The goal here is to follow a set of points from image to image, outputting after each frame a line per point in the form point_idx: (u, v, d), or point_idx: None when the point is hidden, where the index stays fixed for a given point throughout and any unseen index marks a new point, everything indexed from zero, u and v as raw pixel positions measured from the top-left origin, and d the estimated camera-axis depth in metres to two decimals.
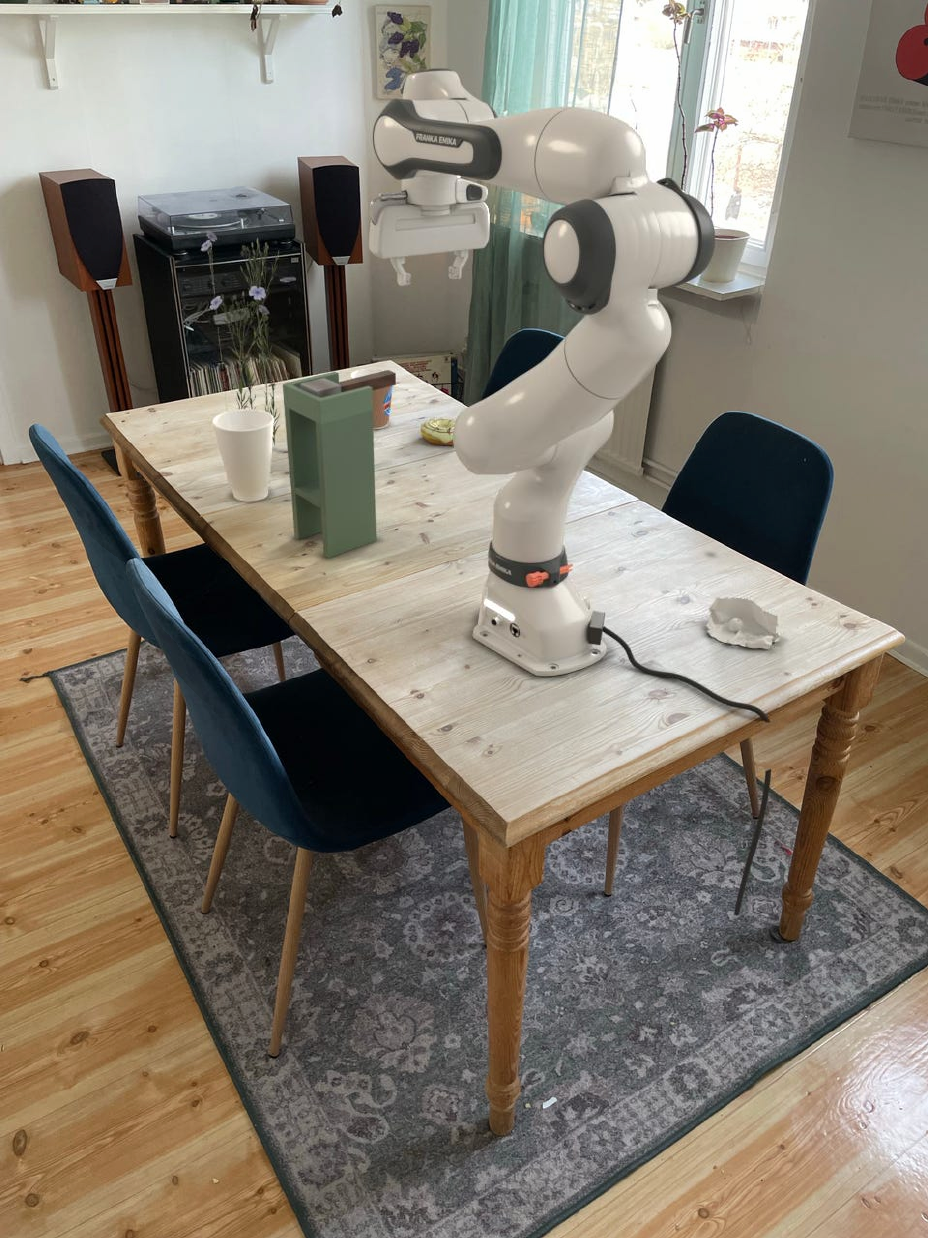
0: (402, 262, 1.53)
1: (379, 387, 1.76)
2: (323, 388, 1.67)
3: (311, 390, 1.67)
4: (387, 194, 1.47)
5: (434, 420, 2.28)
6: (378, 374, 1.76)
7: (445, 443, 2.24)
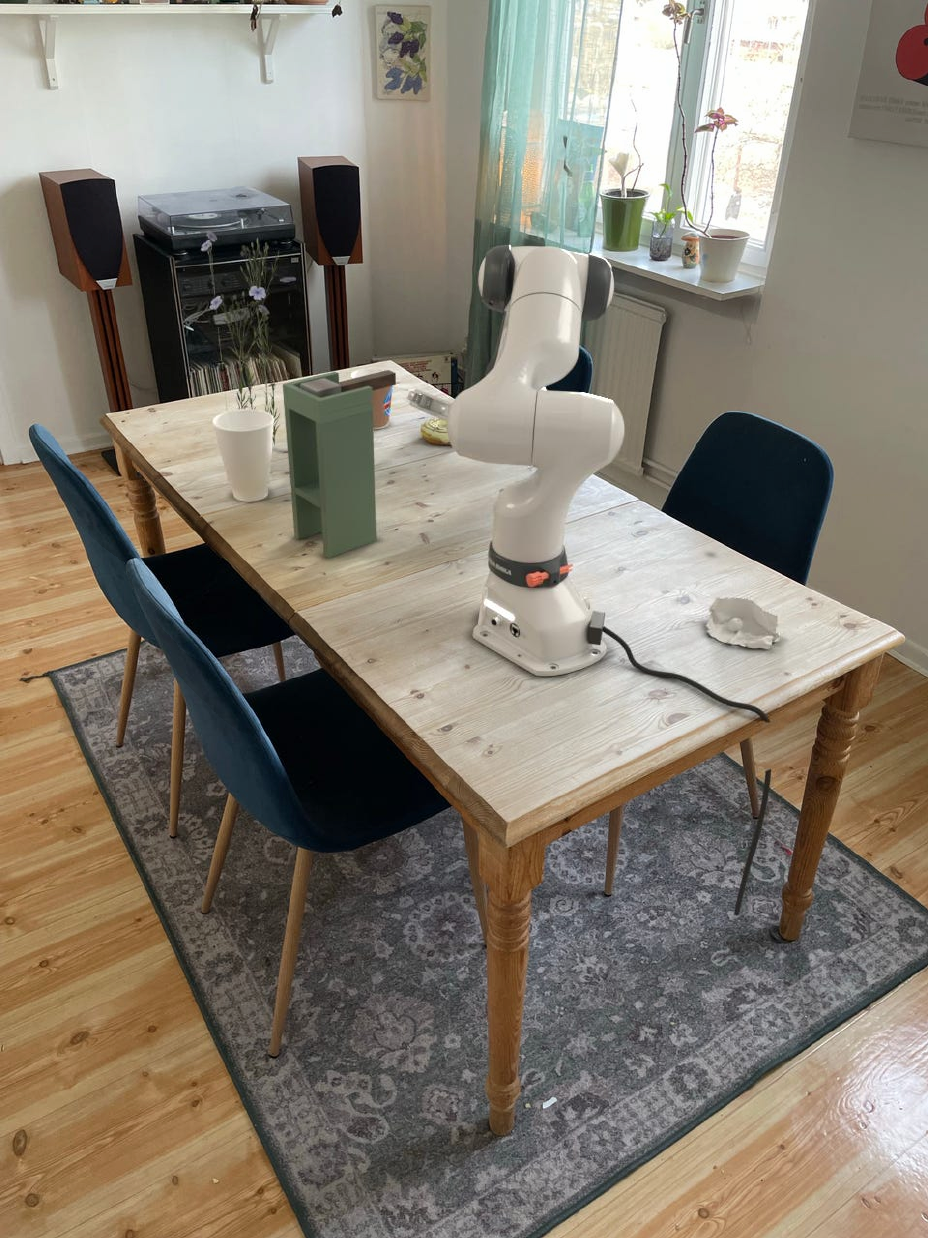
0: (422, 394, 1.93)
1: (379, 387, 1.76)
2: (323, 388, 1.67)
3: (311, 390, 1.67)
4: None
5: (434, 420, 2.28)
6: (378, 374, 1.76)
7: (445, 443, 2.24)
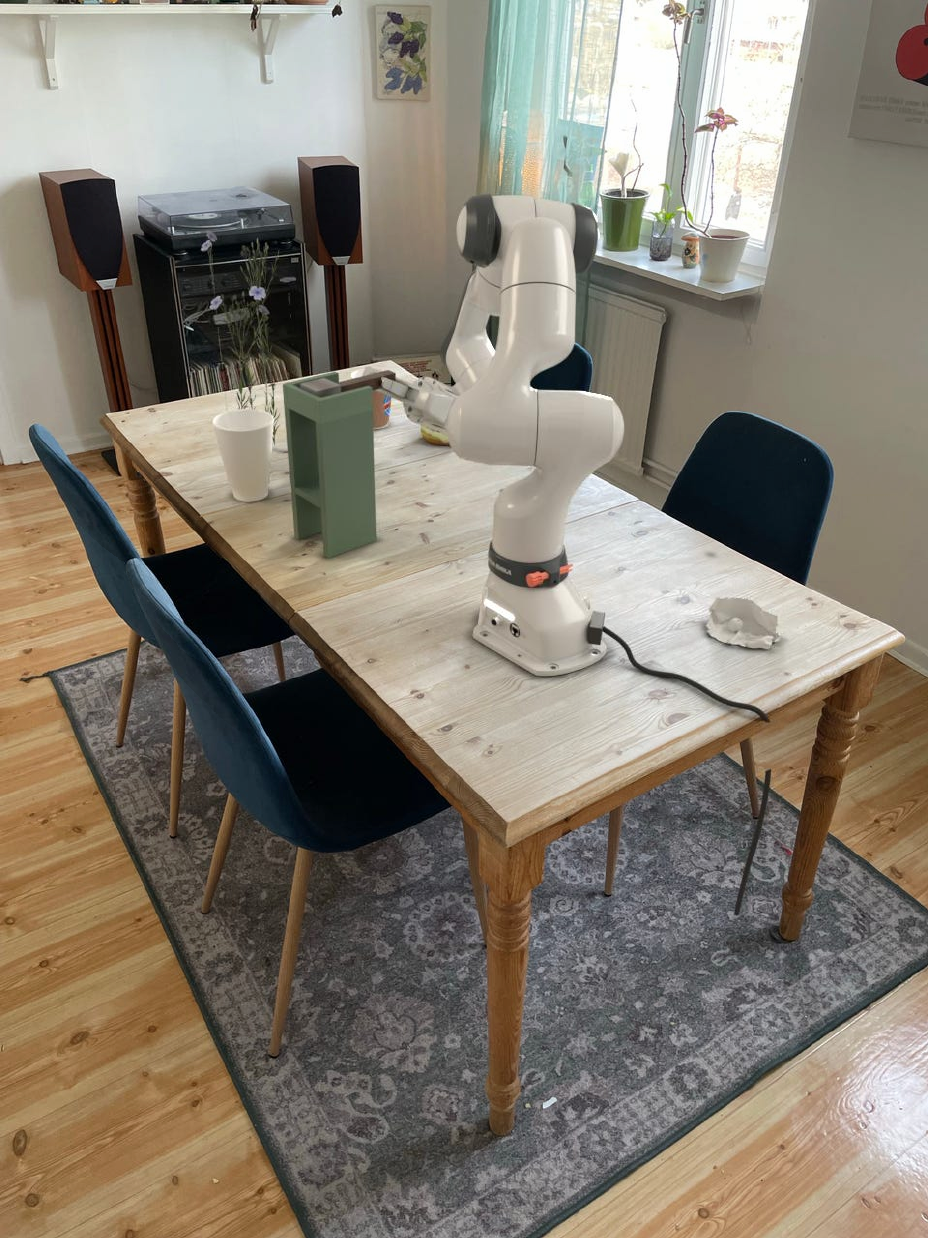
0: None
1: (379, 387, 1.76)
2: (323, 388, 1.67)
3: (311, 390, 1.67)
4: None
5: None
6: (378, 374, 1.76)
7: (445, 443, 2.24)
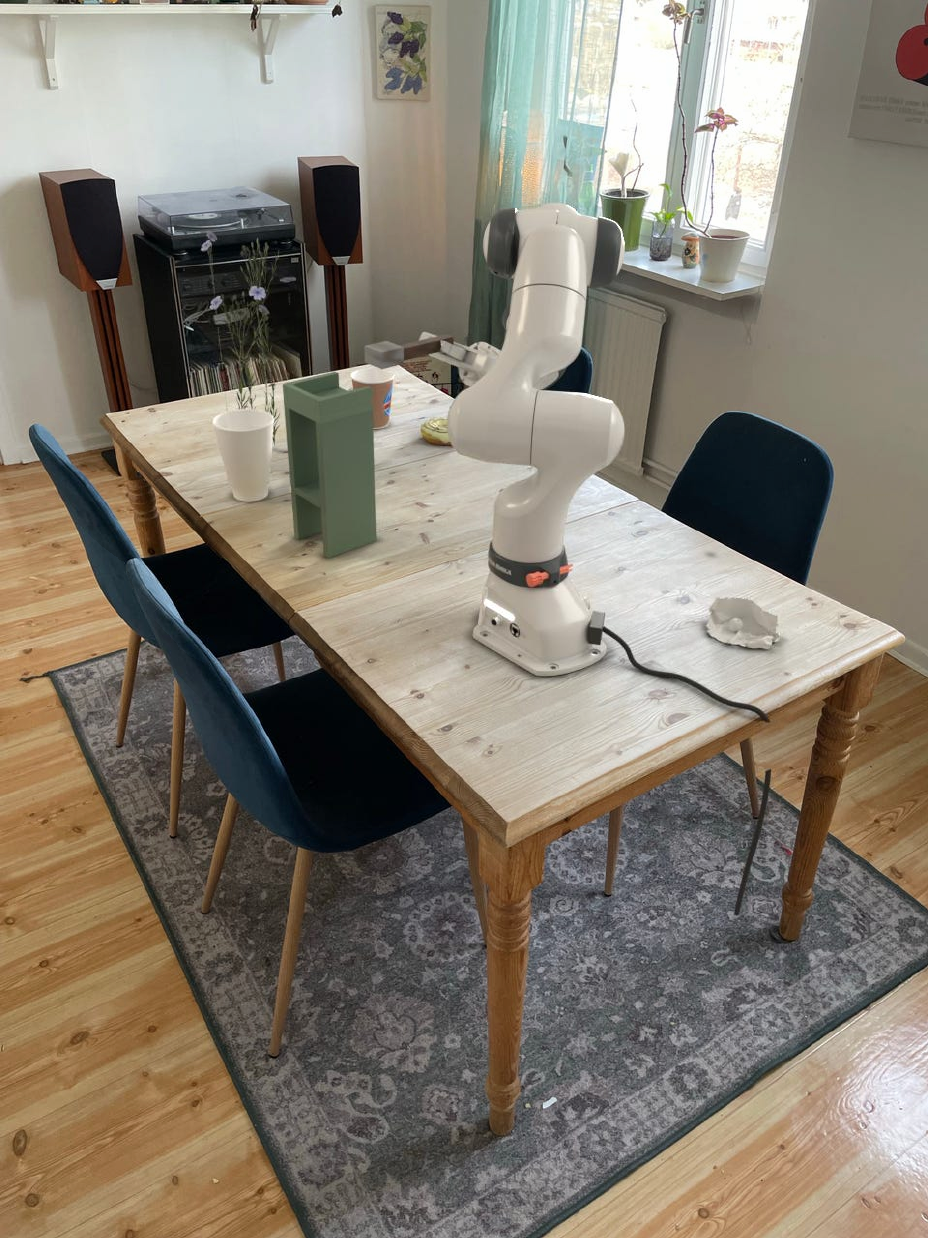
0: None
1: (438, 350, 1.82)
2: (387, 349, 1.73)
3: (375, 351, 1.73)
4: None
5: (434, 420, 2.28)
6: (437, 338, 1.82)
7: (445, 443, 2.24)
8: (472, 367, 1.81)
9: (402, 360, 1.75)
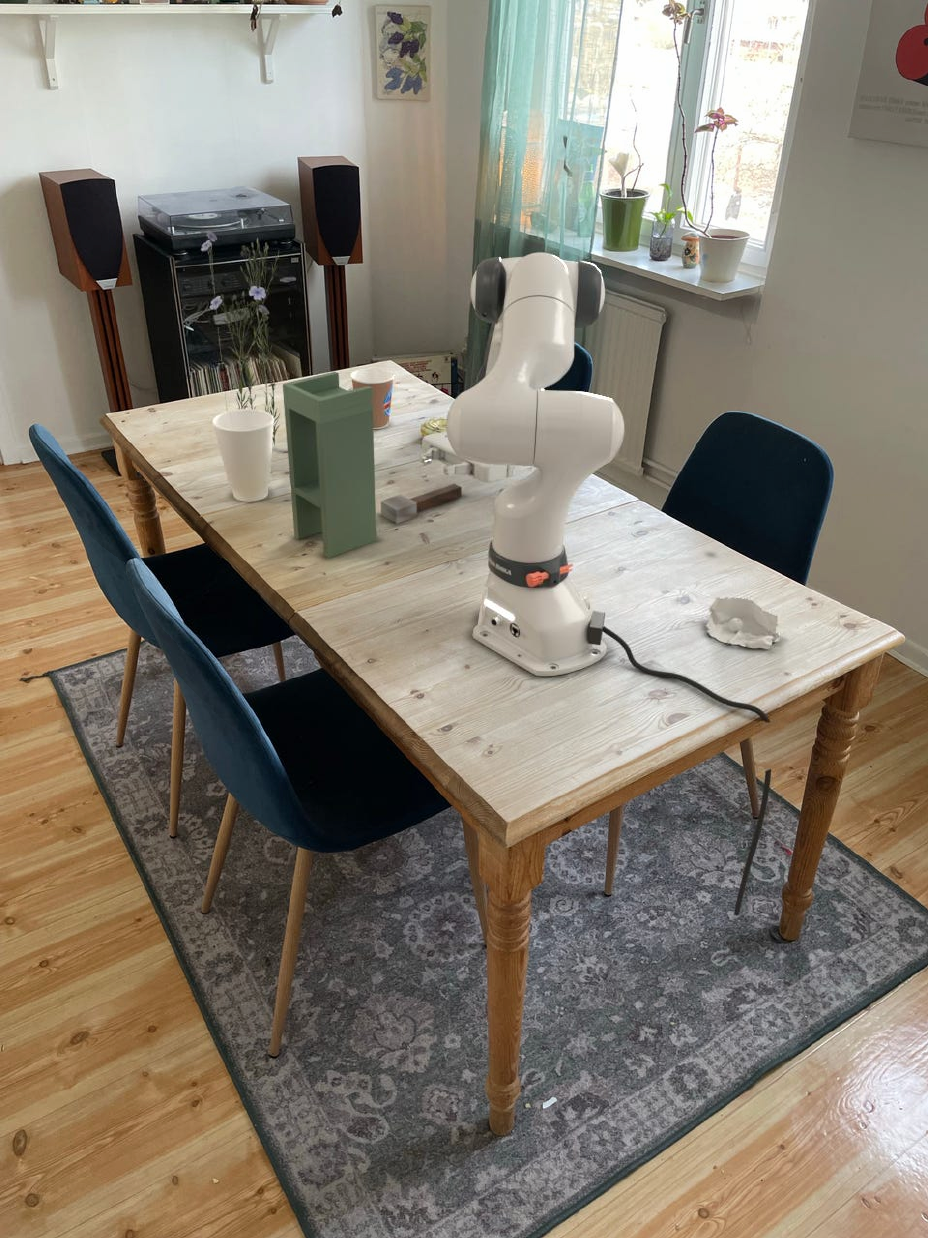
0: (433, 449, 1.99)
1: (447, 500, 2.00)
2: (402, 506, 1.91)
3: (391, 508, 1.91)
4: None
5: (434, 420, 2.28)
6: (446, 488, 2.00)
7: None
8: (474, 477, 1.94)
9: (415, 514, 1.93)
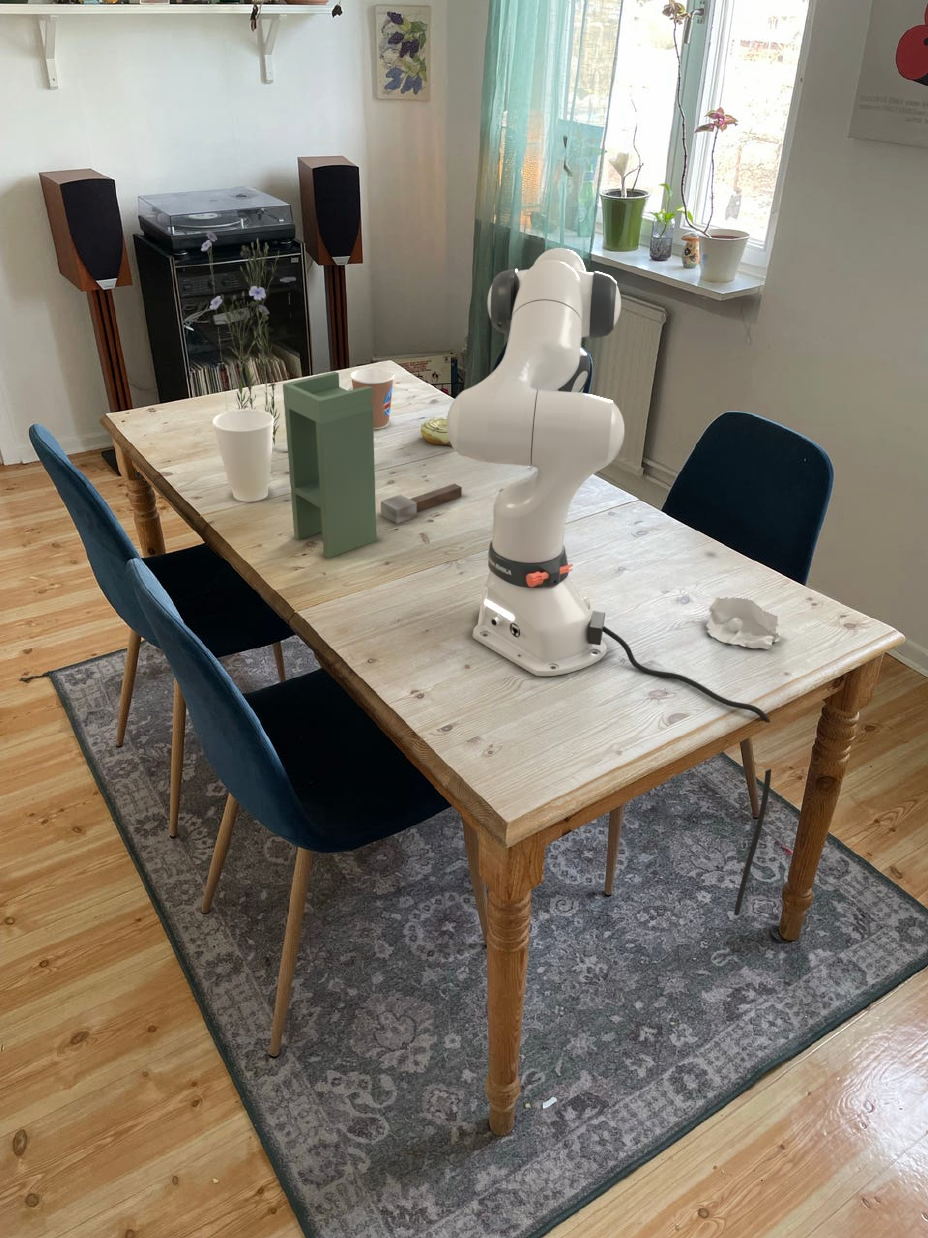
0: None
1: (447, 500, 2.00)
2: (402, 506, 1.91)
3: (391, 508, 1.91)
4: None
5: (434, 420, 2.28)
6: (446, 488, 2.00)
7: (445, 443, 2.24)
8: None
9: (415, 514, 1.93)
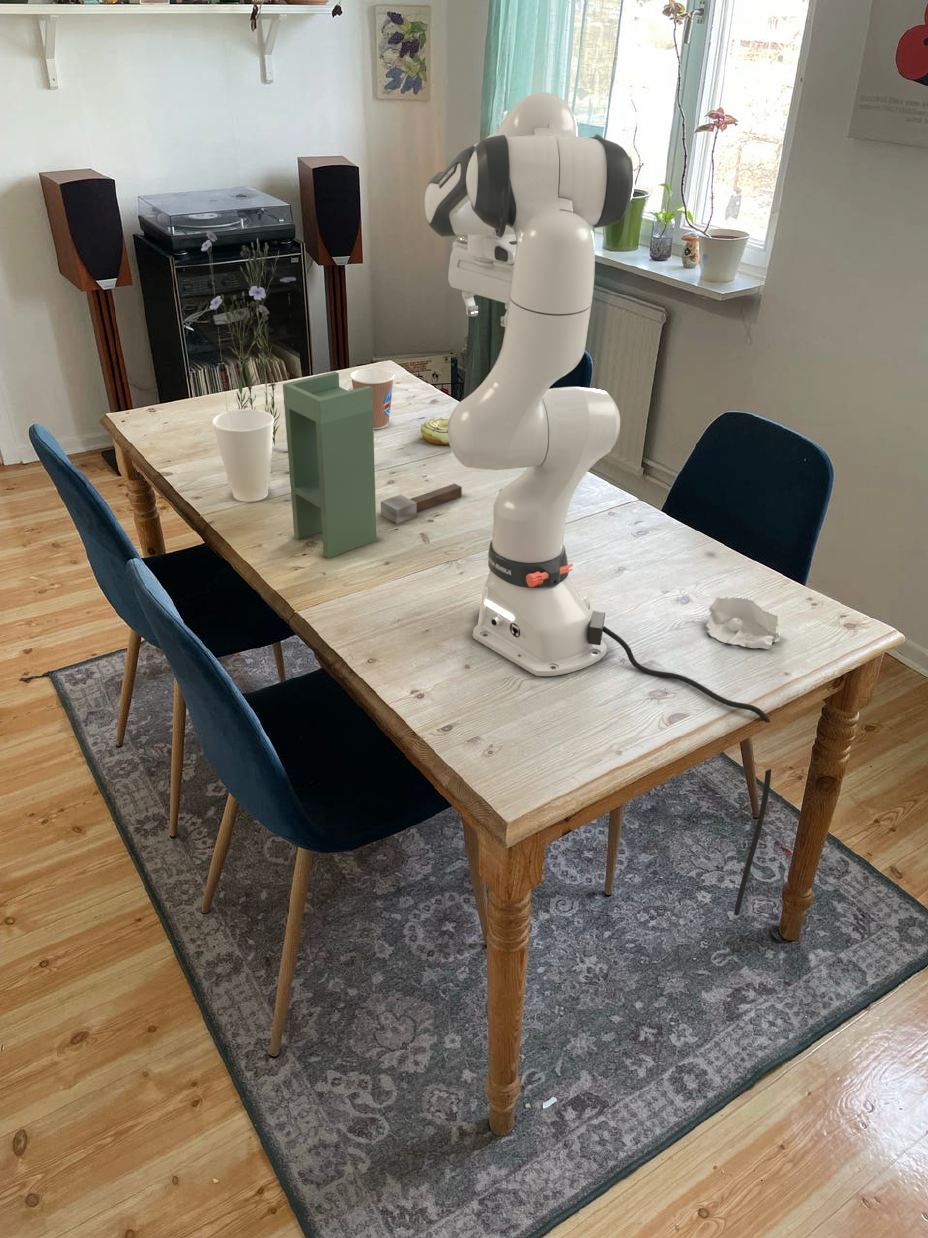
0: (465, 295, 1.87)
1: (447, 500, 2.00)
2: (402, 506, 1.91)
3: (391, 508, 1.91)
4: (461, 238, 1.83)
5: (434, 420, 2.28)
6: (446, 488, 2.00)
7: (445, 443, 2.24)
8: None
9: (415, 514, 1.93)
